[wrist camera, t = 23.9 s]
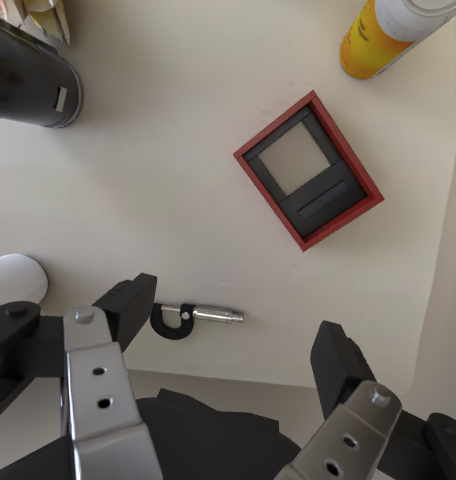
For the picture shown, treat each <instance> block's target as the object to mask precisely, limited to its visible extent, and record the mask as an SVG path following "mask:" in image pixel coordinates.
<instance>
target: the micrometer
mask: <svg viewBox="0 0 456 480" xmlns="http://www.w3.org/2000/svg"><path fill="white" fill-rule="evenodd" d="M162 310H165V311H173V312H180V317H181V326H180V327H179V328H177V329H171V328H168V327H166V326H165V325H164V324H163V322H162ZM194 317H195V318H196V319H201V320H207V321H216V322H223V323H228V324H231V322H232V321H237V322H241V323H242V322H243V314H236V313H233V310H230V309H220V308H214V307H205V306H196V307H195V305H190V304H182V305H181V307H175V306H168V305H163V304H158V303H153V308H152V311H151V314H150V323H151V326H152V328H153V329H154V330H155V332H157V333H158V334H159V335H160V336H162V337H164V338H167V339H171V340H179V339H183V338H185V337H187V336H188V335H189V334H190V333H191V331H192V328H193V318H194Z"/></svg>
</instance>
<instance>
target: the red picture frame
mask: <svg viewBox="0 0 456 480" xmlns="http://www.w3.org/2000/svg"><path fill="white" fill-rule="evenodd" d="M300 121H302V122H303V124H304V125H305V127H306V128H307V130H308V131H309V133H310V134H311V136H312V137H313V139H314V140H315V142H316V143H317V145H318V146H319V148H320V149H321V151H322V152H323V154H324V155H325V157H326V158H327V160H328V161H329V163H330V164H331V166H329V167H328V168H327V169H325V170H324V171H322V172H321V173H320V174H318V175H317V176H315V177H314V178H313V179H311V180H310V181H308V182H307V183H306V184H304V185H303V186H301V187H300V188H299V189H297V190H296V191H294V192H293V193H292V194H290V195H289V196H287V197H286V195H285V194H284V193H283V191H282V190H281V188H280V187H279V186H278V184H277V183H276V181H275V180H274V179H273V177H272V176H271V174H270V173H269V172H268V170H267V169H266V167H265V166H264V165H263V163H262V162H261V160H260V159H259V158H258V156H257V155H258V154H259V153H260V152H261V151H263V150H264V149H265V148H267V147H268V146H269V145H270V144H272V143H273V142H274V141H276V140H277V139H278V138H279V137H281V136H282V135H283V134H284V133H286V132H287V131H288V130H290V129H291V128H292V127H293V126H295V125H296V124H297V123H299V122H300ZM233 155H234V157H235V158H236V159H237V161H238V162H239V164H240V165H241V166H242V168H243V169H244V170H245V172H246V173H247V175H248V176H249V177H250V179H251V180H252V181H253V183H254V184H255V186H256V187H257V188H258V190H259V191H260V193H261V194H262V195H263V197H264V198H265V199H266V201H267V202H268V204H269V205H270V206H271V208H272V209H273V210H274V212H275V213H276V215H277V216H278V217H279V219H280V220H281V221H282V223H283V224H284V226H285V227H286V228H287V230H288V231H289V232H290V234H291V235H292V237H293V238H294V239H295V241H296V242H297V244H298V245H299V246H300V248H301V249H302V250H303V252H304V251H306V250H307V249H309V248H310V247H312V246H313V245H315V244H316V243H318V242H320V241H321V240H323V239H324V238H326V237H327V236H329V235H330V234H332V233H334V232H335V231H337V230H338V229H340V228H341V227H343V226H344V225H346V224H348V223H349V222H351V221H352V220H354V219H355V218H357V217H358V216H360V215H362V214H363V213H365V212H366V211H368V210H369V209H371V208H372V207H374V206H376V205H377V204H379V203H380V202H382V201H383V200H385V199H384V197H383V196H382V194H381V193H380V191H379V190H378V188H377V187H376V185H375V184H374V182H373V181H372V179H371V178H370V176H369V174H368V173H367V171H366V170H365V168H364V167H363V165H362V164H361V162H360V161H359V159H358V158H357V156H356V155H355V153H354V151H353V150H352V148H351V147H350V145H349V144H348V142H347V141H346V139H345V138H344V136H343V135H342V133H341V131H340V130H339V128H338V127H337V125H336V124H335V122H334V121H333V119H332V118H331V116H330V115H329V113H328V112H327V110H326V108H325V107H324V105H323V104H322V102H321V101H320V99H319V98H318V96H317V95H316V93H315V91H314V90H312V91H311V92H310V93H308V94H307V95H306V96H305V97H303V98H302V99H301V100H300V101H298V102H297V103H296V104H295V105H293V106H292V107H291V108H290V109H288V110H287V111H286V112H285V113H283V114H282V115H281V116H280V117H278V118H277V119H276V120H275V121H273V122H272V123H271V124H270V125H268V126H267V127H266V128H265V129H263V130H262V131H261V132H260V133H259V134H257V135H256V136H255V137H254V138H252V139H251V140H250V141H249V142H247V143H246V144H245V145H244V146H242V147H241V148H240V149H239V150H237V151H236V152H235V153H234V154H233Z"/></svg>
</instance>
